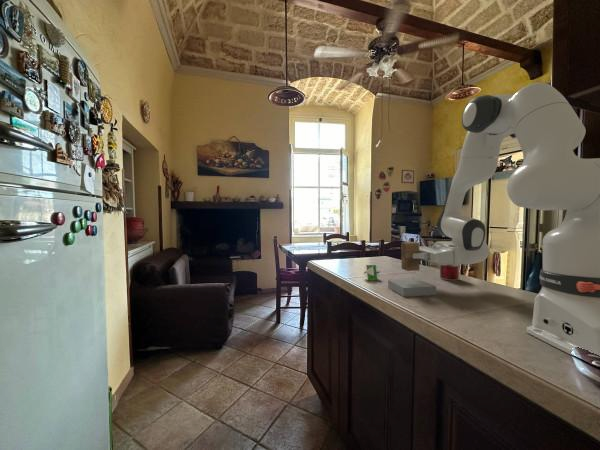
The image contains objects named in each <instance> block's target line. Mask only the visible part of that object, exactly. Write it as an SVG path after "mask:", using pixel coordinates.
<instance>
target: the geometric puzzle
mask: <svg viewBox="0 0 600 450" xmlns="http://www.w3.org/2000/svg"><path fill="white" fill-rule="evenodd" d="M365 267H366V269H364V272H363V273H362V274H364V276H365V277H366V280H367V281H378V280H379V277H378V276H379V275H380V274H381V270H380V271H379V270H378V267H377V265H376V264H366V265H365Z"/></svg>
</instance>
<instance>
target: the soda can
mask: <svg viewBox="0 0 600 450" xmlns="http://www.w3.org/2000/svg"><path fill="white" fill-rule="evenodd" d="M439 278H440V279H441V280H443V281H450V282H451V281H453V282H455V281H458V280H460V265H459V266H452V265H439Z"/></svg>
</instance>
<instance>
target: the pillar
mask: <svg viewBox="0 0 600 450" xmlns="http://www.w3.org/2000/svg"><path fill="white" fill-rule="evenodd" d="M400 244H401V245H400V247H401V248H400V249H401V250H400V251H401V252H400V253H401V257H400V258H401V269H402V270H404V271H407V272H410V271H411V272H412V271H420V259H414V258H411V254H412V253H419V246H420V242H415V241H402V242H400Z"/></svg>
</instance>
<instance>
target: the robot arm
mask: <svg viewBox="0 0 600 450" xmlns="http://www.w3.org/2000/svg"><path fill="white" fill-rule="evenodd" d="M461 124H462V127H463V129H464V130H465V131H467V132H466V135H465V137H464V140H463V143H462V147H461V151H460V152H461V153H460V155H459V156H460V157H459V163H458V166H457V169H456V170H455V171H456V172H455V173H454V175H453V176H452V178H451V180H450V183H449V186H448V189H447V193H446V196H445V201H444V203H443V208H442V210H441V212H440V215H439V217H437V218H438V219H437V221H436V229H437V232H438V233H439V234H440V235H441V236H443V237H446V238H450V239H451V240H450V241H436V242H435V243H434V244H433V245H432V246H431V247H429V246H421V245H419V253H412V254H411V258H414V259H419V260H422V261H427V262H430V263H435V264H437V265H438V266H440V265H452V266H459V267H460V265H472V264H477V263H481V262H483V261H485V260H486V259H487V258H488V257H489V255H490V247H489V245H488V244H487V242H486V240H485V237H486V233H487V232H486V231H487V230H486V226H485V223H483V222H482V221H481V219H476V218H474V217H470V216H466V215H463V214H462V212H461V209H462V207H463V203H464V200H465V197H466V193H467V192H468V191H469V190H470V189H471V188H473V187H475V186H478V185H480V184H483V183H485V182H487V181H488V180H489V179H492V177H493V176H494V175H495V172H496V170H497V167H498V164H499V157H500V153H501V152H500V151H501V145H502V143H503V141H504V140H505V138H506V137H508V136H510V138H512V139H515V138H516V140H517V142H518V144H519V147H520V150H521V152H522V157H523V159H522V163H521V165H520V166H518V167H517V168H516V169H515V170H514V171H513V172H512V173H511V175H510V177H509V179H508V181H507V185H506V192H507V195H508V197H509V200H511V202H512V203H513V205H515V206H516V207H520V208H524V209H525V208H526V209H531V210H538V211H565V210H566V214H565V217H564V219H563V220H562V222H561V223H560V224H559V225H558V226H557V227H555V228H553V229H551V230H550V231H548V232H547V233H545V235H544V236H543V238H542V243H541V244H542V268H541V269H540V270H539V271H540V272H539V273H540V274H539V284H540V285H541V289H540V290H539V292H538V294H537V295H536V296H535V298H534V305H533V313H532V314H533V315H532V323H531V325H530V326H527V327H526V333H528V334H529V335H531V336H532V337H535V338H537V339H539V340H541V341H542V342H544V343H547V344H549V345H551V346H553V347H555V348H557V349H559V350H560V351H563V352H565V353H566V354H568V355H571V352H572V351H573V349H572V348H573V347H579V348H582V349H585V350H588V351H589V352H591V353H594V354H597V355H599V356H600V157H599V158H595V157H594V158H581V157H579V156H577V155H576V154H575V152H574V150H575V149H577V147H579V146H580V145H581V144H582V141H583V140H584V139H585V135H586V131H587V130H586V127H585V125H584V124H583V122H582V120H581V119H580V118H579V116H578V114H577V113H576V111H575V110H574V108H573V107H572V105H571V104H570V103H569V101H568V100H567V99H566V97H565V96H564V95H563V94H562V93H561V92H560V91H558V89H556V88H555V87H554V86H552V85H551V84H549V83H547V82H532V83H530V84H528V85H525V86H523V87H521V88H520V89H519V90H518V91H516V92H515V93H514V94H511V93H505V94H494V95H492V94H486V95H485V94H484V95H480V96H477V97H474V98H472V99H471V100H469V102H468V103H466V105H465V107H464V108H463V112H462V115H461ZM571 356H572V355H571Z"/></svg>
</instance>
